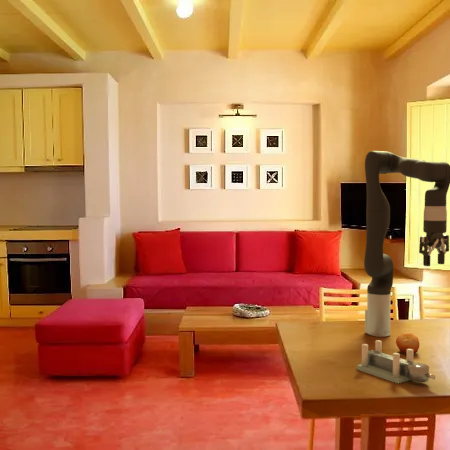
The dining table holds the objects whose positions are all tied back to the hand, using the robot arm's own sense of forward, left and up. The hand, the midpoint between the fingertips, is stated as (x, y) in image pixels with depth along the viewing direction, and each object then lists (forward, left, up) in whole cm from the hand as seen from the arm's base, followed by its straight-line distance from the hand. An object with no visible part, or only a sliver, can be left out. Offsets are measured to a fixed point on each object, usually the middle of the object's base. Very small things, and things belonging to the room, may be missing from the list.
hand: (434, 265), depth 177 cm
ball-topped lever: (+6, -27, -31) cm, 42 cm away
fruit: (-8, -3, -33) cm, 34 cm away
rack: (+1, -27, -33) cm, 43 cm away
